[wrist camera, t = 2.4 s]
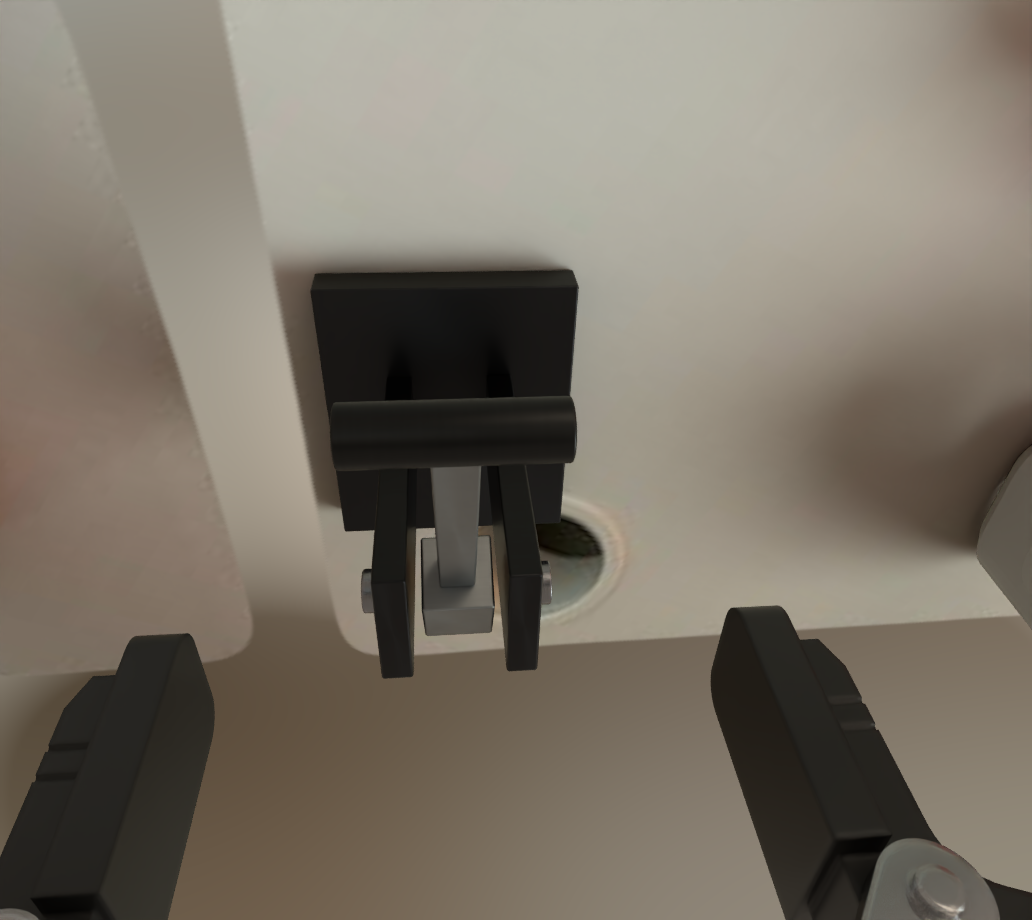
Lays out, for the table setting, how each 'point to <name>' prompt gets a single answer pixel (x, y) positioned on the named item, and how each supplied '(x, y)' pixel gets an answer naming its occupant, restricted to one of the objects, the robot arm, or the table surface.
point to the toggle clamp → (448, 375)
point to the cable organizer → (1011, 537)
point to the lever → (454, 480)
